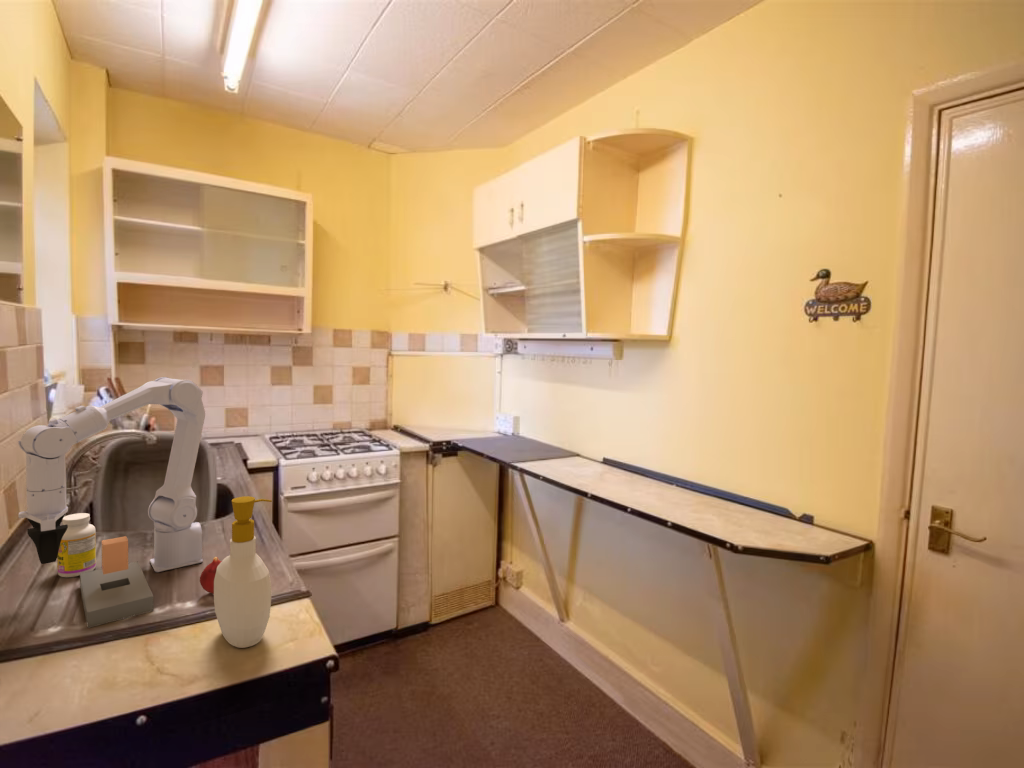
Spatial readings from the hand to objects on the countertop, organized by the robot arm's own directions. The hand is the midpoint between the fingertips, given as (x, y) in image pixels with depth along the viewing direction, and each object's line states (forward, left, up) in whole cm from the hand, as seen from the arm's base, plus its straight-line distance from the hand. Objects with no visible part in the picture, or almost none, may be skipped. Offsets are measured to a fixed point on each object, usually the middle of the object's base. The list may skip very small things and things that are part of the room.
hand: (48, 555), depth 100 cm
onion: (-26, +14, -10) cm, 31 cm away
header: (-10, +4, -10) cm, 15 cm away
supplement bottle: (-5, -15, -10) cm, 19 cm away
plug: (-10, +4, -4) cm, 12 cm away
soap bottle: (-26, +34, -10) cm, 44 cm away
